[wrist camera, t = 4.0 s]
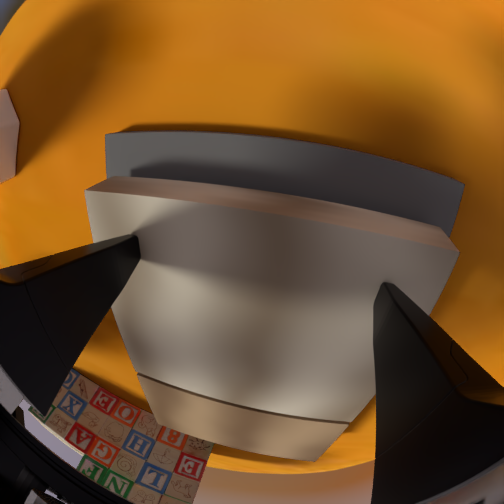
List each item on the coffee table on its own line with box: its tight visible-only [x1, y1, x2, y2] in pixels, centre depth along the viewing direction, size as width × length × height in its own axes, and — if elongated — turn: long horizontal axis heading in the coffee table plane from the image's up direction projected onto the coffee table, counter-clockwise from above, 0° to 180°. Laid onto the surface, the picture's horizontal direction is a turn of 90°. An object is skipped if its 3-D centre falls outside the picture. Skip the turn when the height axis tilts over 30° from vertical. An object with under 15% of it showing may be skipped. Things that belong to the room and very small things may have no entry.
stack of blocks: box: [28, 368, 214, 504], centre depth 22 cm, size 21×6×12 cm, turn 74°
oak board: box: [137, 372, 349, 462], centre depth 17 cm, size 14×8×2 cm, turn 85°
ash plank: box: [84, 176, 460, 422], centre depth 12 cm, size 14×12×2 cm
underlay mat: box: [105, 131, 465, 238], centre depth 15 cm, size 16×24×1 cm, turn 175°
